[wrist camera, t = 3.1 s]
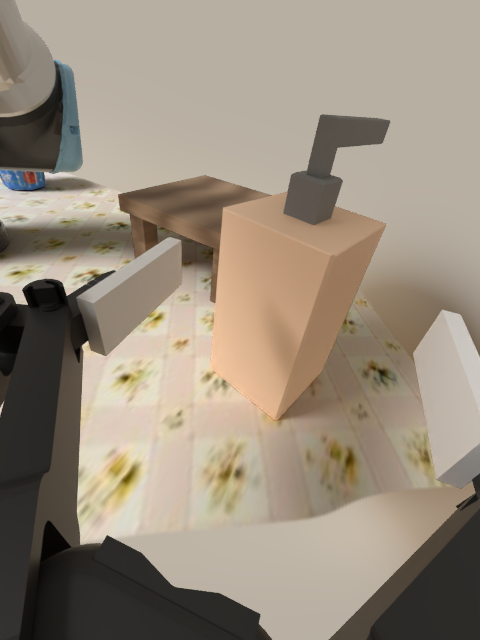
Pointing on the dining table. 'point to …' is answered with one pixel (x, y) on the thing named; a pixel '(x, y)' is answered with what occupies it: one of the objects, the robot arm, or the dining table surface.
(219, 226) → the walnut stool
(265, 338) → the soap dispenser
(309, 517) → the dining table surface
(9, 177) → the snack cup
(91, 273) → the dining table surface
